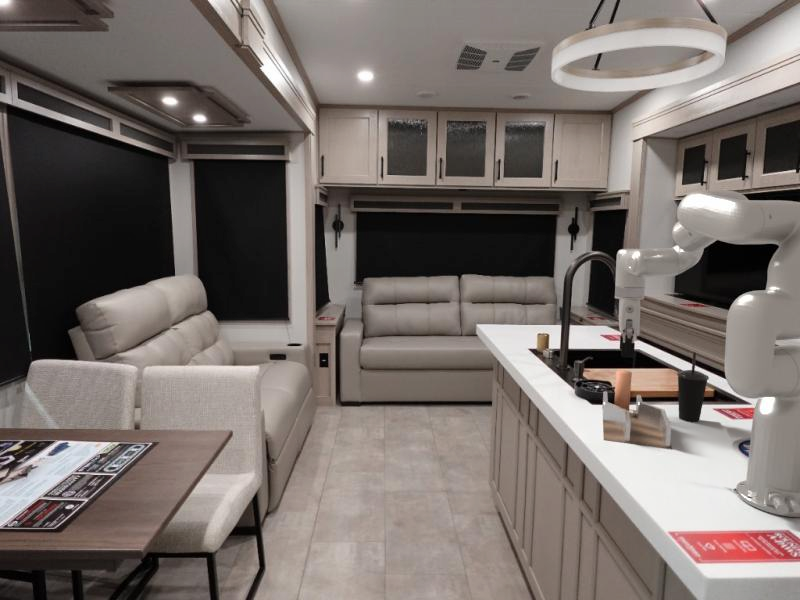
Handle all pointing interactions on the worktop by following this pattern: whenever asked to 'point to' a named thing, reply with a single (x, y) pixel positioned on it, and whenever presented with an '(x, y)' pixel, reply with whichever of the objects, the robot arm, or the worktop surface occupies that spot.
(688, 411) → the drinking cup
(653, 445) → the channel board
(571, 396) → the worktop surface
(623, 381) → the peg
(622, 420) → the bent rails
